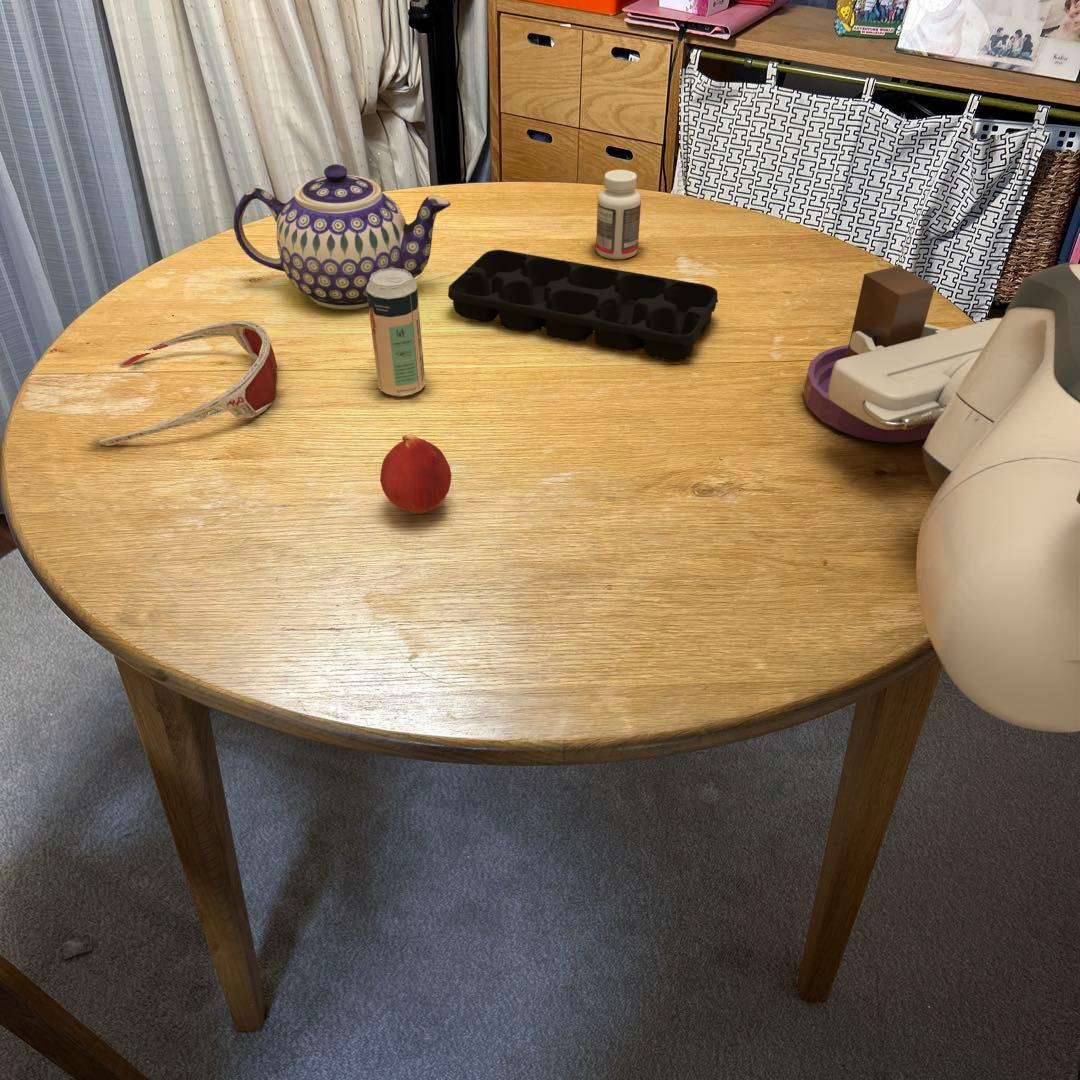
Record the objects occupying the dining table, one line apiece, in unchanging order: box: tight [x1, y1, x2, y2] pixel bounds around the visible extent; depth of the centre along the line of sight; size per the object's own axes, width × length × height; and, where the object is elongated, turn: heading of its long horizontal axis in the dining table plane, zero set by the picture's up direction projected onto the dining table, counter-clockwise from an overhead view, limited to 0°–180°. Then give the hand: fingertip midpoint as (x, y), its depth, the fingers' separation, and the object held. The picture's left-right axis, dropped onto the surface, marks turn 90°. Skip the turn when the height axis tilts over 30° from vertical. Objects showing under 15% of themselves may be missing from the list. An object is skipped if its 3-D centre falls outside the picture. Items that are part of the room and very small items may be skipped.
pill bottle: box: [595, 169, 642, 260], centre depth 120 cm, size 5×5×10 cm
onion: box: [379, 433, 452, 515], centre depth 80 cm, size 6×6×8 cm
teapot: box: [233, 163, 452, 311], centre depth 110 cm, size 25×15×15 cm, turn 85°
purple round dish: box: [802, 344, 934, 443], centre depth 94 cm, size 14×14×3 cm
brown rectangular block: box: [846, 265, 936, 358], centre depth 91 cm, size 6×4×13 cm
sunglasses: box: [98, 320, 278, 447], centre depth 96 cm, size 17×17×5 cm
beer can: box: [366, 268, 426, 398], centre depth 94 cm, size 5×5×12 cm
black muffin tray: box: [447, 249, 719, 363], centre depth 108 cm, size 18×30×4 cm, turn 79°
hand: (879, 331), depth 91 cm, fingers closed on brown rectangular block, 4 cm apart
